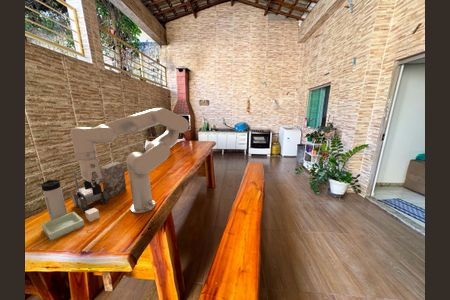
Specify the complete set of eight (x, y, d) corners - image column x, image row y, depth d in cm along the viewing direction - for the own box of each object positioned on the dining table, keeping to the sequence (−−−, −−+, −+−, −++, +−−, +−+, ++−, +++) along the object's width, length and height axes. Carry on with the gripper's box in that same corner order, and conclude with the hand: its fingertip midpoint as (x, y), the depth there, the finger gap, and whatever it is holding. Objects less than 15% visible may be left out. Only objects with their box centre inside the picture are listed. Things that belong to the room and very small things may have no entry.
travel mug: (66, 213, 90) (58, 178, 85) (69, 218, 85) (60, 181, 81) (49, 219, 85) (39, 182, 80) (51, 224, 81) (41, 185, 76)
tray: (84, 225, 80) (83, 219, 79) (50, 241, 70) (48, 234, 70) (75, 216, 87) (73, 211, 86) (42, 229, 77) (41, 224, 76)
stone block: (113, 198, 105) (107, 167, 100) (103, 197, 106) (97, 167, 101) (128, 189, 117) (124, 161, 113) (119, 188, 118) (114, 161, 114)
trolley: (110, 203, 98) (104, 171, 94) (85, 214, 89) (77, 178, 84) (97, 196, 107) (91, 166, 103) (73, 204, 98) (66, 172, 93)
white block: (99, 217, 86) (98, 210, 85) (90, 221, 83) (88, 214, 82) (95, 214, 89) (94, 207, 88) (86, 218, 85) (84, 211, 85)
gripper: (104, 156, 73) (110, 193, 76) (89, 151, 82) (95, 184, 86) (83, 160, 67) (90, 199, 70) (69, 154, 76) (76, 189, 80)
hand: (93, 191), depth 78 cm, fingers open, 9 cm apart
